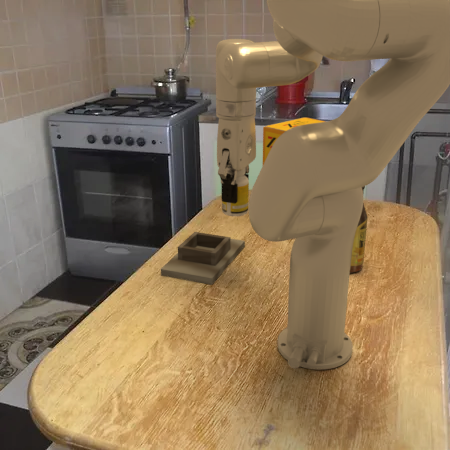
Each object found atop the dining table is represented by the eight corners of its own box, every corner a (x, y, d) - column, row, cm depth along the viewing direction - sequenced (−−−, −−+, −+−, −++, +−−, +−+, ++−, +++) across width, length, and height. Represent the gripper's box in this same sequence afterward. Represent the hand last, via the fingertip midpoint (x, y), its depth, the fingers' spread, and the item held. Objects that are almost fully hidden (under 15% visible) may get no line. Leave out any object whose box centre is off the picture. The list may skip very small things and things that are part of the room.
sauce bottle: (363, 275, 118) (371, 187, 110) (333, 272, 119) (340, 185, 111) (362, 261, 124) (370, 177, 116) (334, 259, 125) (340, 175, 117)
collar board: (212, 284, 115) (211, 265, 113) (160, 275, 119) (159, 256, 117) (244, 246, 132) (244, 229, 130) (199, 239, 136) (198, 222, 134)
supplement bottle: (253, 210, 114) (254, 165, 110) (239, 219, 110) (239, 172, 106) (231, 205, 117) (231, 160, 113) (216, 213, 113) (216, 167, 109)
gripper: (238, 119, 96) (237, 215, 103) (268, 101, 111) (266, 186, 118) (199, 115, 99) (200, 209, 106) (234, 98, 113) (233, 181, 121)
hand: (235, 196), depth 112 cm, fingers closed on supplement bottle, 5 cm apart
